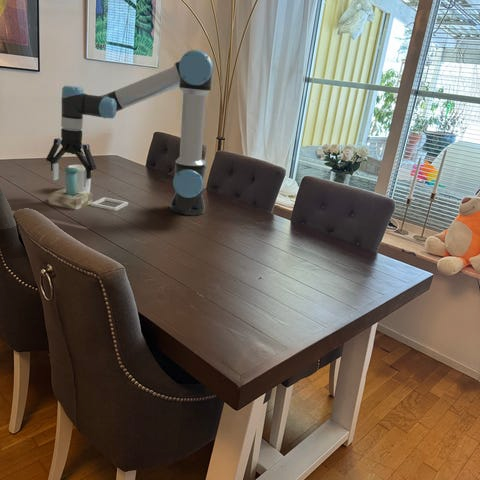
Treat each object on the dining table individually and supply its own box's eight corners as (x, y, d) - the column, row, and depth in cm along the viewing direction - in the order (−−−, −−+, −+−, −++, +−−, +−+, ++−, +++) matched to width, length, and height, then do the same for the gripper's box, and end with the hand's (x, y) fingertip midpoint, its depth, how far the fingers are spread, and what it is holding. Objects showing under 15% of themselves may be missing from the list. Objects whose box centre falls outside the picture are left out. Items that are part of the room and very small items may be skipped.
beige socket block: (92, 204, 185) (92, 193, 183) (76, 212, 174) (76, 199, 172) (66, 199, 187) (66, 187, 185) (48, 206, 176) (48, 193, 174)
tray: (127, 206, 189) (128, 202, 188) (115, 213, 179) (115, 208, 178) (104, 201, 191) (104, 197, 190) (90, 207, 181) (90, 203, 180)
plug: (79, 202, 182) (80, 169, 177) (72, 205, 177) (73, 171, 172) (69, 200, 182) (69, 166, 178) (62, 203, 178) (62, 168, 173)
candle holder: (76, 198, 190) (76, 170, 185) (62, 192, 195) (63, 165, 191) (95, 195, 197) (96, 169, 193) (82, 190, 202) (83, 164, 198)
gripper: (106, 133, 171) (104, 187, 178) (48, 122, 175) (48, 175, 182) (96, 135, 164) (94, 191, 171) (36, 123, 168) (36, 178, 175)
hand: (70, 183), depth 177 cm, fingers open, 13 cm apart
